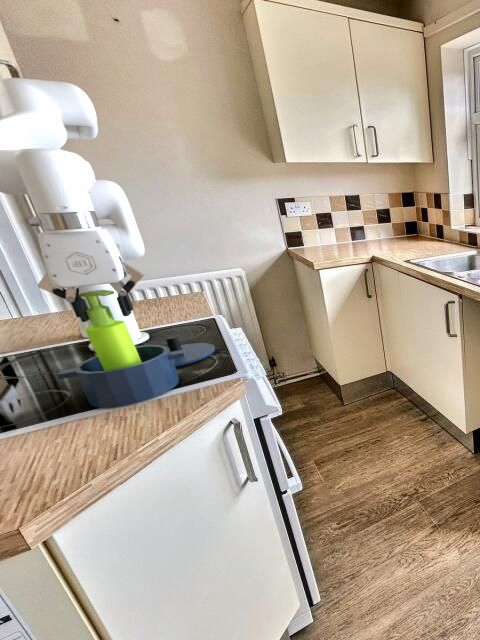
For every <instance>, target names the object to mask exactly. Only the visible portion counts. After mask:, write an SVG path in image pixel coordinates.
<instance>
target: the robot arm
mask: <svg viewBox="0 0 480 640" xmlns="http://www.w3.org/2000/svg"><path fill="white" fill-rule="evenodd" d="M96 112H97V111H96V109H95V106H94V104H93V102H92V100H91V99H90V97H89V95H88V94H87V93H86V92H85V91H84V90H83V89H82V88H80V87H79V86H77V85H76V84H73V83H72V82H71V83H70V82H67V81H55V80H44V79H37V78H36V79H34V78H24V77H8V78H7V77H6V78H3V79H1V80H0V193H2V194H6V195H10V196H12V195H13V196H18V195H21V196H22V195H23V196H24V195H25V196H26V195H28V196H29V199H30V202H31V204H32V206H33V208H34V211H35V213H36V214H35V216H34V217H31V218H30V217H29V218H27V220H28V224H29V225H30V226H31V227H39V228H40V229H41V230H43V232H38V233H37V234H38V235H37V236H38V244H39V248H40V251H41V252H40V253H41V256H42V259H43V262H44V266H45V269H46V272H45V274H44V275H43V277H42V278H41V279H40V281H39V282H38V283H37V287H38V288H39V289H41V290H43V291H46V292H48V293H51V294H53V295H54V296H57V297H59V298H61V299H63V300H65V301H66V302H67V303H70V302H71V304H70V305H71V308H72V307H73V308H72V311H73V310H74V311H73V313H74V312H75V314H76V316H77V317H80V319H81V321H82V322H86V321H87V323H88V326H92V323H91V321H90V319H89V317H88V315H87V313H86V310H87V309H88V308H90V305H89V303H88V301H87V299H86V297H80V296H79V294H81V293H85V292H88V291H95V290H109V291H114V294H111V295H108V296H98V297H99V300H100V302H101V304H102V305H105V306H109V308H110V311H111V313H112V315H113V317H114V320H122V321H124V322H125V325H126V327H127V329H128V332H129V334H130V336H131V338H132V341H133V343H134V345H135V346H138V345H139V344H143V343H145V342H146V341H148V340H149V339H150V335H149V333H147V332H145V331H141V330H140V328H139V325H138V322H137V320H136V317H135V314H134V305H133V303H132V300H131V298H130V295H129V294H130V292H131V291H132V290H133V289H134V287H135V286H136V285H137V284H138V283H139V282H140V280H141V279H143V278H144V275H145V274H144V273H143V272H142V271H139V270H138V269H136V268H135V267H133V266H131V265H130V264H128V263H126V262H125V261H131V260H138V259H140V258H142V257H143V256H145V254H146V253H145V252H146V247H145V244H144V241H143V239H142V235H141V232H140V230H139V227H138V223H137V222H136V218H135V215H134V212H133V210H132V207H131V205H130V202H129V199H128V198H127V195H126V193H125V191H124V190H123V188H122V187H121V186H120V184H118V183H117V182H115V181H112V180H108V179H96V175H95V172H94V170H93V168H92V165H91V164H90V163H89V162H88V161H87V160H85V159H84V158H83V157H82V156H81V155H79V154H77V153H76V152H73V151H70V150H69V151H68V150H65V149H61V148H62V147H63V146H64V145H65V144H67V141H68V140H93V139H95V138H97V136H98V133H99V127H98V116H97V113H96ZM100 220H110V221H112V222H113V223H108V224H107V223H106V224H105V223H104V224H101V223H100ZM128 275H129V276H130V278H129V279H128V281H127V282H126V283H125V282H124V281H123V279H125V278H126V277H128ZM75 314H74V315H75ZM76 316H75V317H76ZM88 348H89V351H92V352H95V350H94V348H93V345H92V343H91V342H90V343H89V344H88Z"/></svg>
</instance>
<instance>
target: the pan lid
mask: <svg viewBox="0 0 480 640" xmlns="http://www.w3.org/2000/svg"><path fill="white" fill-rule="evenodd" d="M165 341H166V345H167V348H169V350H170V352H173V351H179V350H185V351H186V355H185V357H182V358H176V359H173V362H174V365H175V367H176V368H178V367H181V366H185V365H189V364H192V363H195V362H198V361H200V360H203V359H206V358H208V357H209V356H211V355H212V354H213V353H215V351H216V347H215V345H214V344H212V343H209V342H208V343H207V342H193V343H186V344H181V342H180V339H179V336H178V335H171V336H167V337H165Z"/></svg>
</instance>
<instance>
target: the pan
mask: <svg viewBox="0 0 480 640" xmlns="http://www.w3.org/2000/svg"><path fill="white" fill-rule="evenodd" d="M135 348H136V350H137V352H138V355H139V357H140V359H141V362H142V363H140V364H136V365H132V366H129V367H125V368H120V369H114V370H109V371H104V369H103V367H102V364H101V362H100V360H99V358H98V356H97V355H95V356H93V357H90V358H88V359H86V360H84V361H82V362H80V363H78V364H77V365H76V366H75V367H74V368H68V369H62V370H61V371H59V372H58V374H57V377H58V379H59V380H62V379H63V380H64V379H68V378H75V377H77V379H78V382H79V383H80V386H81V388H82V390H83V392H84V395H85V398H86V399H87V401H88V403H89V405H90V406H92V407H94V408H98V409H99V408H100V409H101V408H102V409H109V408H118V407H124V406H130V405H134V404H138V403H141V402H144V401H149V400H151V399H154V398H156V397H158V396H161V395H163V394H165V393H167V392H169V391H171V390H172V389H174V388H175V387H176V386H177V385H179V382H180V376H179V373H178V371H177V367H175V365H174V362H173V359H176V358H182V357H185V355H186V351H185V350H179V351H173V352H170V350H169V347H168V346H166V345H159V344H147V345H136V346H135Z"/></svg>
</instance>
